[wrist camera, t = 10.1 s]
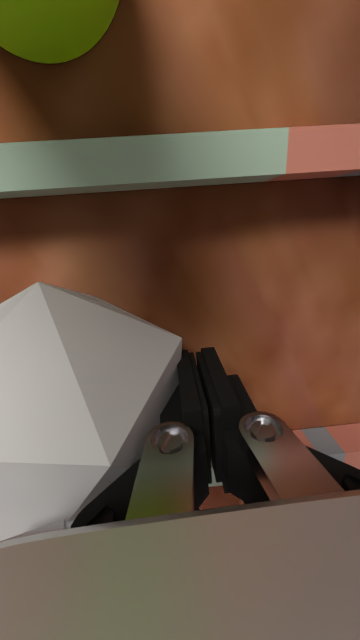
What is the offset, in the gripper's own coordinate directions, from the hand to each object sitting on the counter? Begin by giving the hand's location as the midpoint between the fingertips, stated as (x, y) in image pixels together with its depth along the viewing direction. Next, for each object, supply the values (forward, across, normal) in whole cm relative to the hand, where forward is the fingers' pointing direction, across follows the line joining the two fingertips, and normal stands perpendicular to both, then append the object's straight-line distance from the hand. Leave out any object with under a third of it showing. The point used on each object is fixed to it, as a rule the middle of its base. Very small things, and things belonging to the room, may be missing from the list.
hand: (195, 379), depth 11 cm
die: (+3, +5, -1) cm, 5 cm away
